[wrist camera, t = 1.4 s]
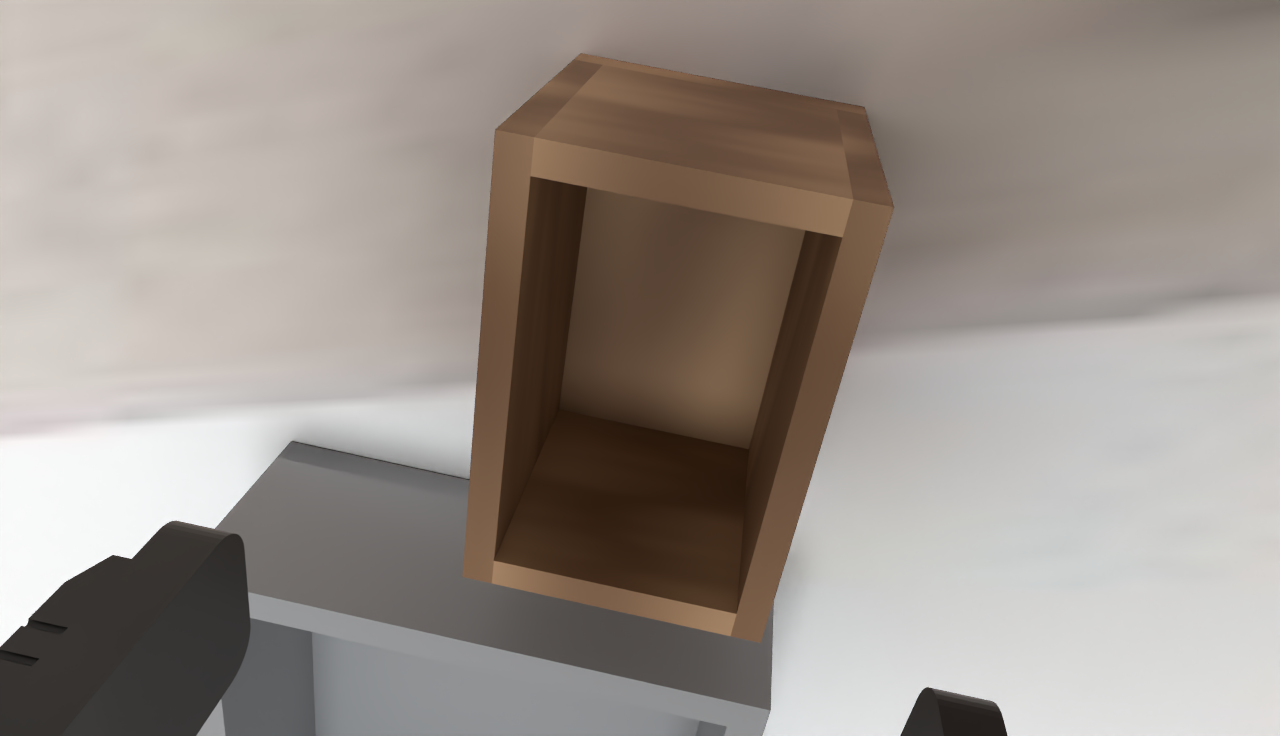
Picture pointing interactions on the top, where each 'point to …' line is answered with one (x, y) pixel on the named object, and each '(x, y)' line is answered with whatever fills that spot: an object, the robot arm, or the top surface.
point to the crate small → (664, 336)
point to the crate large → (446, 627)
